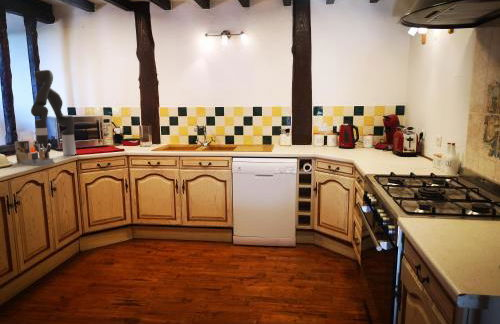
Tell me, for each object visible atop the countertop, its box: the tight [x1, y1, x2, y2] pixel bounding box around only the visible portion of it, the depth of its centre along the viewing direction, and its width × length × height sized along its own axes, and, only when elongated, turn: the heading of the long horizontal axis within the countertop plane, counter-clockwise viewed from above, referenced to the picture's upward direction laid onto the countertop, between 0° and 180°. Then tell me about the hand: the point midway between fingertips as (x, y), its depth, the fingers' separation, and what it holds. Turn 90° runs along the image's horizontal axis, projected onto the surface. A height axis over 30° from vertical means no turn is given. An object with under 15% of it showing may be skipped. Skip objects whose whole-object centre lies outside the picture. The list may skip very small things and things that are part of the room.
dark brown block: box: [38, 150, 51, 160], centre depth 270 cm, size 4×6×7 cm, turn 169°
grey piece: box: [22, 151, 56, 166], centre depth 271 cm, size 11×17×8 cm, turn 79°
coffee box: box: [14, 140, 32, 164], centre depth 275 cm, size 9×6×16 cm
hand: (44, 157), depth 270 cm, fingers closed on dark brown block, 3 cm apart
